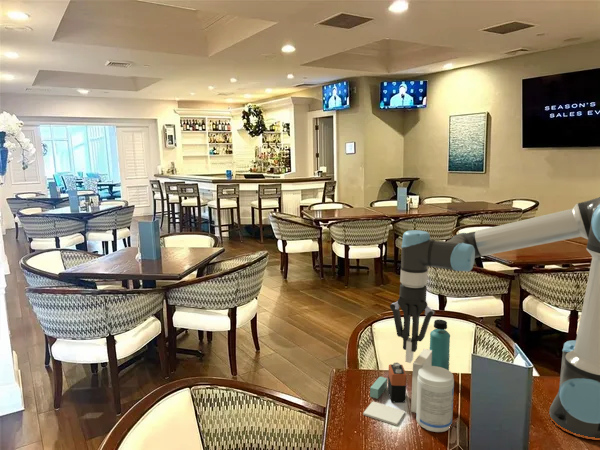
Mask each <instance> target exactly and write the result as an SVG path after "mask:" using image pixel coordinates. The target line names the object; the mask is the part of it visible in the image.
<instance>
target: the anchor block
mask: <svg viewBox="0 0 600 450" xmlns="http://www.w3.org/2000/svg"><path fill="white" fill-rule="evenodd" d="M369 389H370V390H369V391H370V392H369V397H370V398H374V399H376V400H378V399H379V398H380V397H381V396H382V394H383V393H384V391H385V390H386V389H388V377H383V376H379V377H378V378H376V380H375V381H374V382H373V384H372V385H371V386H370V387H369Z"/></svg>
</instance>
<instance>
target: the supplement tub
mask: <svg viewBox="0 0 600 450" xmlns="http://www.w3.org/2000/svg"><path fill="white" fill-rule="evenodd" d="M454 388H455V379H454V374H453V372H451V371H450V369H449V370H447V369H445V368H442V367H437V366H426V367H422V368H421V369H419V371H418V378H417V409H416V413H415V415H416V418H415V419H416V422H417V424H418V425H419V426H420V427H422V428H423V429H424V430H427V431H429V432H432V433H433V432H435V433H443V432H446V431H448V430H450V429H449V427H450V425H451V424H452V425H453V413H454V411H453V410H454Z"/></svg>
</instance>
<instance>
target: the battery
mask: <svg viewBox="0 0 600 450" xmlns="http://www.w3.org/2000/svg"><path fill="white" fill-rule="evenodd" d="M387 392H388V396H389V399H390V402H391V403H402V404H403V403H406V400H407V399H406V397H407V396H406V394H407V373H406V370H405V368H404V366H403V364H401V363H399V362H393V363H392V364H388V377H387Z"/></svg>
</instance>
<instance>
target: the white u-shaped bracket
mask: <svg viewBox="0 0 600 450" xmlns="http://www.w3.org/2000/svg"><path fill="white" fill-rule="evenodd" d="M431 365H432V350H430V349H429V348H428V349H426V348H423V350H421V352H420V353H419V355H418V356H417V357H416V359H415V360H414V361H413V363H412V374H411V375H412V378H411V398H410V399H411V400H410V401H411V402H410V412H412V413H415V414H416V409H417V378H418V371H419V369H421V368H422V367H426V366H431Z"/></svg>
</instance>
